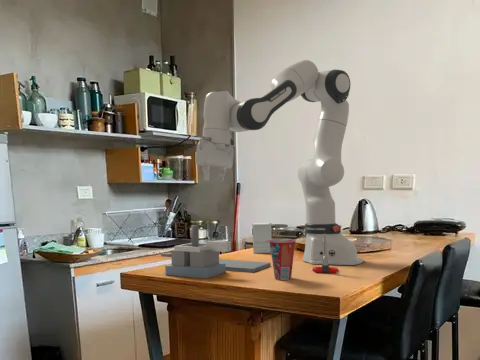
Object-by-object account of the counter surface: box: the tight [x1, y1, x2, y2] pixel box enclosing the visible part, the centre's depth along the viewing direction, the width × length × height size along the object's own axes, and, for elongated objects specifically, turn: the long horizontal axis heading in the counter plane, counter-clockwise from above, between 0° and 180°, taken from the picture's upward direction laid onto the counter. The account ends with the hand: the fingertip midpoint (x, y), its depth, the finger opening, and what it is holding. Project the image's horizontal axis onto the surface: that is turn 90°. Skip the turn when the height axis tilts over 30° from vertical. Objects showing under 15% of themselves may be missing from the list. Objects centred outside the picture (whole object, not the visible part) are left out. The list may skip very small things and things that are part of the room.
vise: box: [160, 224, 226, 279], centre depth 160 cm, size 22×12×16 cm, turn 62°
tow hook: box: [312, 234, 339, 274], centre depth 160 cm, size 8×13×9 cm
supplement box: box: [251, 222, 273, 254], centre depth 207 cm, size 7×7×13 cm
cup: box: [265, 238, 297, 281], centre depth 147 cm, size 9×8×12 cm
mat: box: [219, 258, 272, 273], centre depth 170 cm, size 22×14×1 cm, turn 62°
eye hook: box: [173, 240, 232, 253], centre depth 157 cm, size 18×10×3 cm, turn 62°
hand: (214, 180), depth 157 cm, fingers open, 8 cm apart
